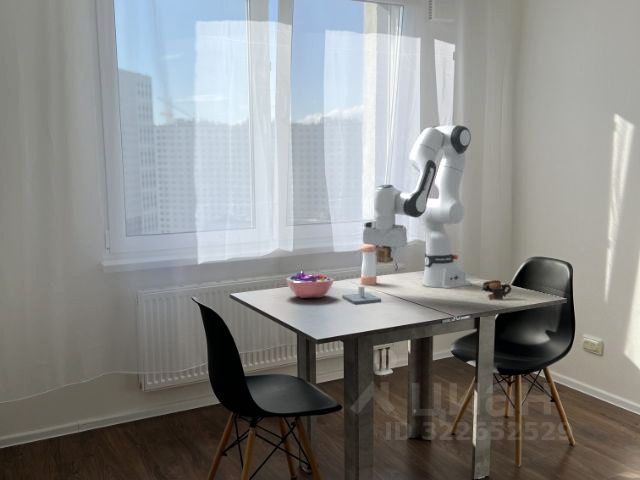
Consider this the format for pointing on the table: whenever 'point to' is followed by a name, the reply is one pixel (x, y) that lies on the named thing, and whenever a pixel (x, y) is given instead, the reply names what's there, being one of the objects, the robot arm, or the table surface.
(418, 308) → the table surface
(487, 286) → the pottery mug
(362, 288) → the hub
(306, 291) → the cell model
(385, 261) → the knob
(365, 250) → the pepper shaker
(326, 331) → the table surface
